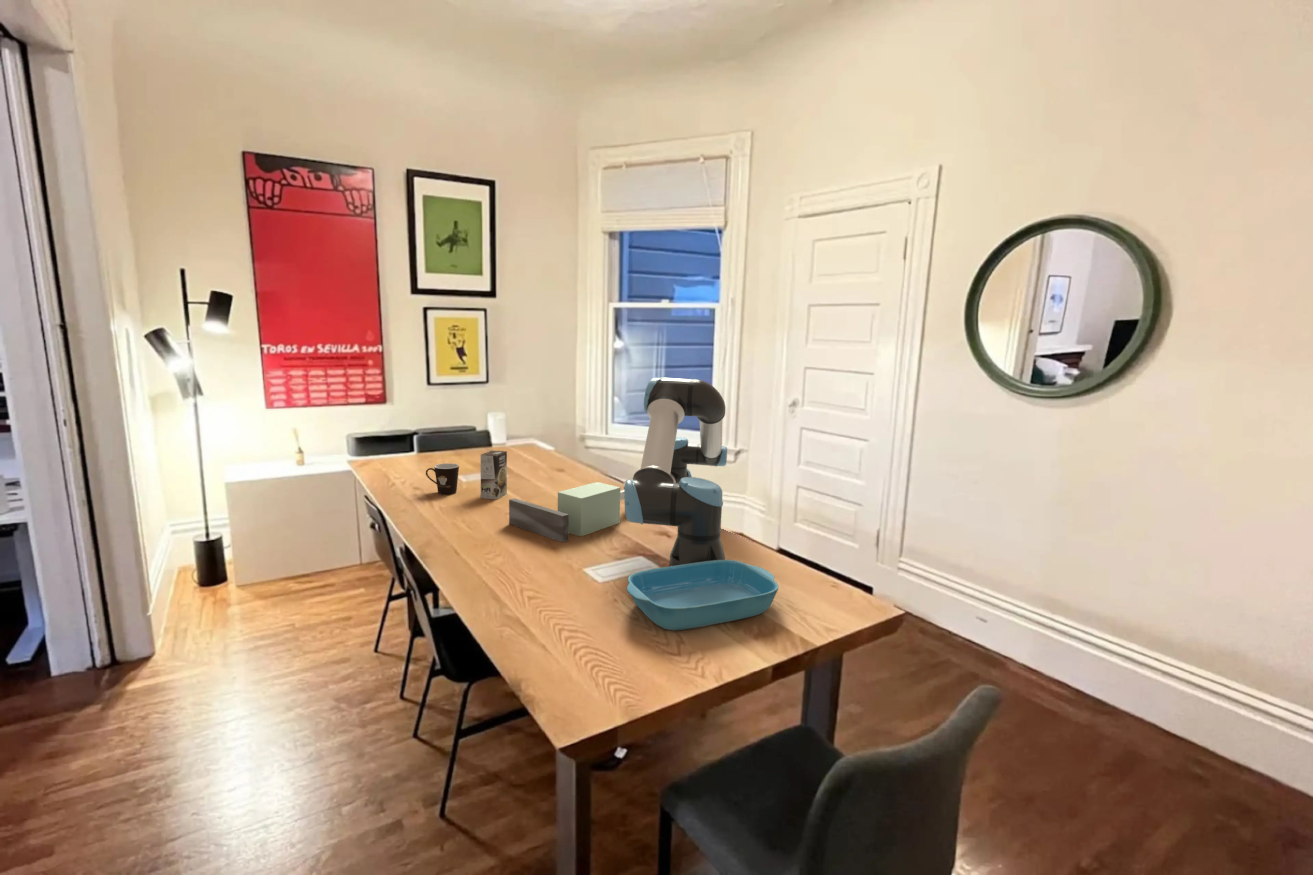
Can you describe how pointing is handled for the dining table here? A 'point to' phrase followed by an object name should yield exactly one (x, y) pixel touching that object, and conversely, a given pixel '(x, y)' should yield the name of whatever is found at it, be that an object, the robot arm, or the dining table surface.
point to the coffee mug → (445, 478)
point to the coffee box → (493, 474)
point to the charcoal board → (539, 519)
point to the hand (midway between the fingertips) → (617, 496)
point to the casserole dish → (702, 593)
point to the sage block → (590, 507)
